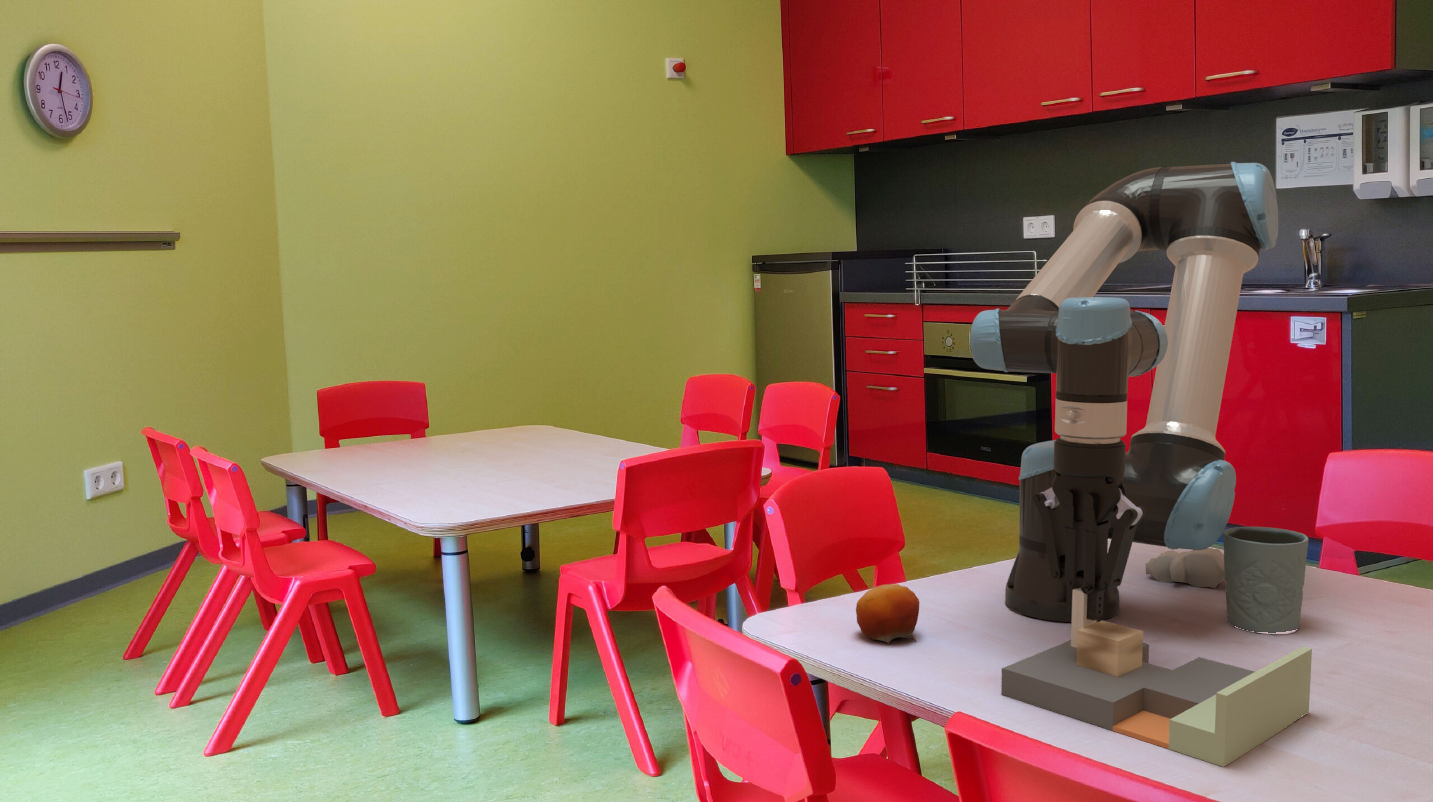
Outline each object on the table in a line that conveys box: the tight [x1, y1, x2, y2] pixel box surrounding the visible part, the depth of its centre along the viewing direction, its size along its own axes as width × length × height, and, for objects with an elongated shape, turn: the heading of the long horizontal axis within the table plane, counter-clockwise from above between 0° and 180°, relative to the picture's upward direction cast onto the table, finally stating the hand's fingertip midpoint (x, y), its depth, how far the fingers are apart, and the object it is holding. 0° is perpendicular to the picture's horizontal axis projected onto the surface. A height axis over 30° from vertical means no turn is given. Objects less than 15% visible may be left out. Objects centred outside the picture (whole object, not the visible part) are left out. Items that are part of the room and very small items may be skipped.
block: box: [1076, 620, 1144, 677], centre depth 127 cm, size 5×5×4 cm
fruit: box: [855, 583, 920, 645], centre depth 147 cm, size 8×8×8 cm
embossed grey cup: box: [1222, 526, 1309, 633], centre depth 149 cm, size 10×10×12 cm
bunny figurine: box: [1144, 547, 1226, 589], centre depth 169 cm, size 10×5×15 cm
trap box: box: [1000, 639, 1313, 768], centre depth 124 cm, size 25×19×7 cm
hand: (1083, 644), depth 129 cm, fingers closed
